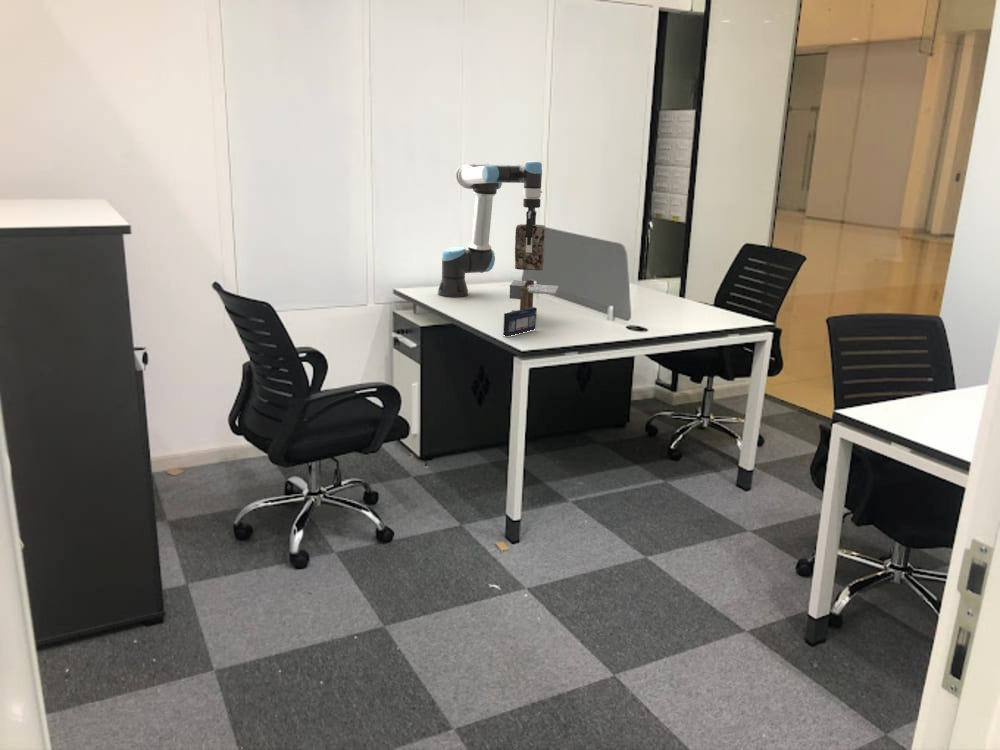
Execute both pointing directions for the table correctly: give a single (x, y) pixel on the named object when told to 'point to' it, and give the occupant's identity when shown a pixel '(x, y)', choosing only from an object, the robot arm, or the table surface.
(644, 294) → the table surface
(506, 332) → the vhs cassette tape
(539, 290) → the trapdoor plate
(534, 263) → the stone block
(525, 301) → the trapdoor stand
